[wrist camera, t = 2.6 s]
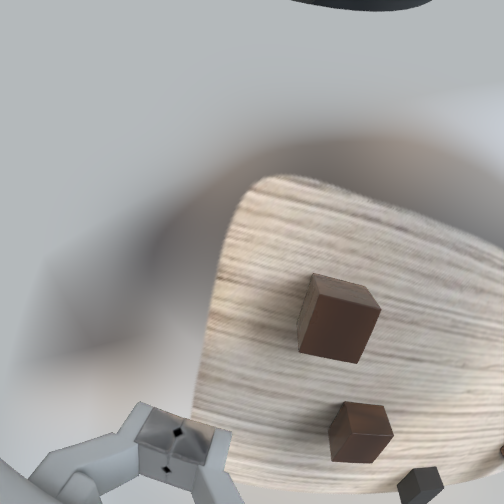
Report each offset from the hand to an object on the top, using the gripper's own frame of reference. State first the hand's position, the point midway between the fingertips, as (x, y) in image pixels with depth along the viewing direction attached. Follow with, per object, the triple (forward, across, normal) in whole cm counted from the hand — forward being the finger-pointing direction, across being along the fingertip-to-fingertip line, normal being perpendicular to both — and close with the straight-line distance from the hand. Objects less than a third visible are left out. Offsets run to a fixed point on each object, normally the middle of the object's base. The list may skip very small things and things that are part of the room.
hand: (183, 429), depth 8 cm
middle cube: (+14, -13, +10) cm, 21 cm away
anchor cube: (+14, -27, +20) cm, 37 cm away
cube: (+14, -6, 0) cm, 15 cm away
